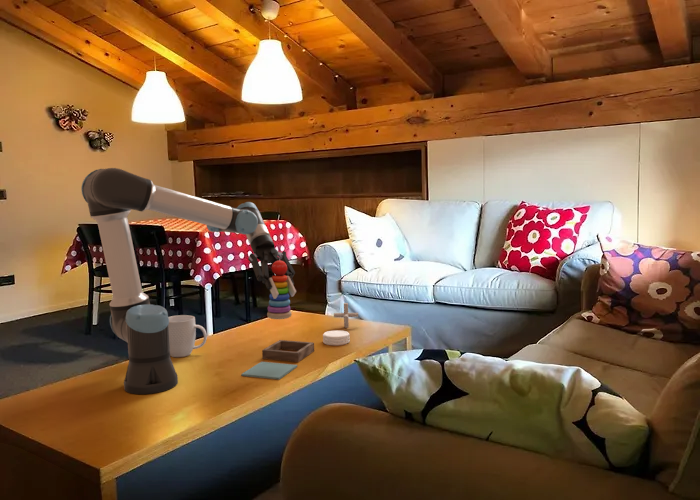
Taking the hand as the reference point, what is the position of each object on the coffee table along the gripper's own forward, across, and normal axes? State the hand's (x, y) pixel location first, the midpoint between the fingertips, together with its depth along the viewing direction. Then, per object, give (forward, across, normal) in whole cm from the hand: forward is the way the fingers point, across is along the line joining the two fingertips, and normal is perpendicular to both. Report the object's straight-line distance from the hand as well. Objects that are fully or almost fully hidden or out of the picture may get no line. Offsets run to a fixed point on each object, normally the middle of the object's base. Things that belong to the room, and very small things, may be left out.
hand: (285, 295), depth 187 cm
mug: (-7, +21, -41) cm, 47 cm away
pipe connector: (-4, -45, -36) cm, 58 cm away
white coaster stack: (+8, -29, -25) cm, 39 cm away
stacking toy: (+3, 0, -8) cm, 9 cm away
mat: (+18, +7, -15) cm, 24 cm away
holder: (+10, -7, -23) cm, 26 cm away
